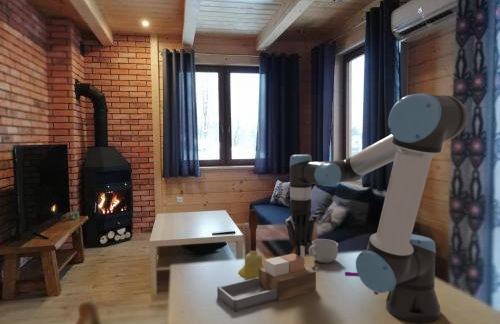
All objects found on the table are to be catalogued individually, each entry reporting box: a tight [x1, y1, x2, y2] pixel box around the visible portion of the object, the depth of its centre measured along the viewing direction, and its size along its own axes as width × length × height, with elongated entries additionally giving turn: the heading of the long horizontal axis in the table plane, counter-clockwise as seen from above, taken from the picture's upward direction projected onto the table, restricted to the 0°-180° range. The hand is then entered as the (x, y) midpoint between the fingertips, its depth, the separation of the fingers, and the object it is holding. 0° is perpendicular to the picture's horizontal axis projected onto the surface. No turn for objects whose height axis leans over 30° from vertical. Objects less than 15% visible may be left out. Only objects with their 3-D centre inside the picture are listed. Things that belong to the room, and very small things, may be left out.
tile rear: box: [279, 253, 305, 273], centre depth 133 cm, size 6×6×4 cm
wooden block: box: [259, 265, 317, 301], centre depth 132 cm, size 13×15×6 cm
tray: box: [216, 277, 278, 313], centre depth 125 cm, size 12×16×4 cm
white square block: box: [264, 256, 289, 277], centre depth 130 cm, size 6×6×4 cm
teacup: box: [308, 238, 339, 264], centre depth 159 cm, size 14×11×8 cm
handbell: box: [237, 208, 265, 280], centre depth 146 cm, size 12×12×25 cm
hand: (300, 263), depth 136 cm, fingers closed
